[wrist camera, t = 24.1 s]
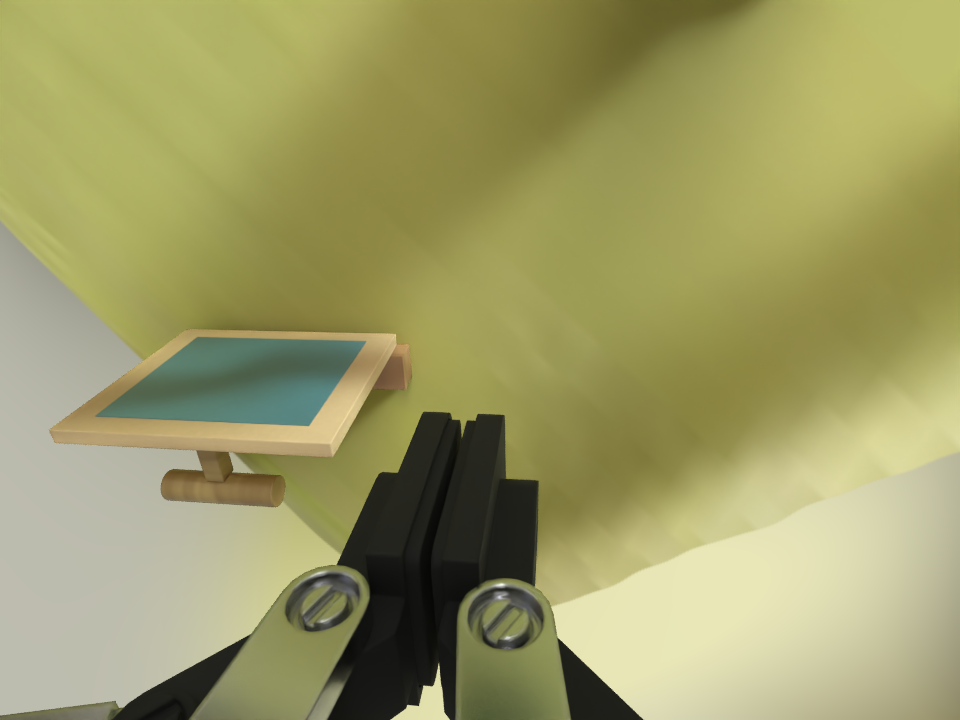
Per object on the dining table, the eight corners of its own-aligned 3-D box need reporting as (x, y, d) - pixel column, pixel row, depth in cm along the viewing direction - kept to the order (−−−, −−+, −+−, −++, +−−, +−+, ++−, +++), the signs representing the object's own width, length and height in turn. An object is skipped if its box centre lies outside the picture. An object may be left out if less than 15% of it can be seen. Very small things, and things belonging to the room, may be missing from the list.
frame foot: (193, 338, 39) (177, 350, 37) (409, 344, 37) (402, 356, 35) (201, 370, 40) (186, 382, 38) (412, 377, 38) (405, 390, 36)
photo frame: (47, 428, 27) (86, 511, 29) (330, 442, 25) (346, 529, 28) (186, 328, 37) (206, 395, 40) (395, 332, 35) (403, 403, 38)
